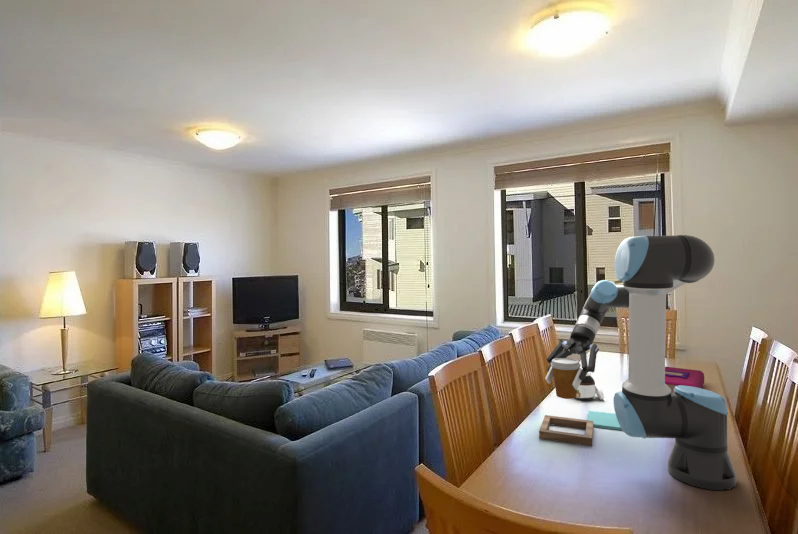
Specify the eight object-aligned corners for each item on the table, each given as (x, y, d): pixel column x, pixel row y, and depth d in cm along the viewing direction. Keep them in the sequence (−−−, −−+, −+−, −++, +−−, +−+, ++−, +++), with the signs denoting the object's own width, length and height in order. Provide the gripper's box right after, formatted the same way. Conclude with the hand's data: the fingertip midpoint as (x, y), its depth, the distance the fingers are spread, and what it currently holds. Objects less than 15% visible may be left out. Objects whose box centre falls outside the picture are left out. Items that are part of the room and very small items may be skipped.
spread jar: (566, 396, 189) (566, 369, 189) (587, 392, 193) (586, 366, 193) (587, 404, 178) (587, 375, 178) (609, 400, 182) (608, 372, 181)
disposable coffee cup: (574, 391, 154) (573, 357, 154) (586, 399, 145) (585, 363, 145) (547, 392, 154) (546, 358, 154) (557, 401, 144) (557, 364, 144)
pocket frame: (592, 446, 139) (592, 438, 139) (539, 438, 145) (539, 430, 145) (593, 428, 153) (593, 420, 153) (545, 421, 160) (545, 415, 160)
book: (704, 386, 200) (704, 369, 200) (697, 402, 178) (697, 383, 178) (651, 379, 213) (651, 363, 213) (639, 393, 192) (639, 376, 192)
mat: (632, 431, 149) (632, 428, 149) (587, 426, 155) (587, 423, 155) (630, 418, 162) (630, 415, 162) (588, 413, 168) (588, 410, 168)
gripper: (619, 341, 150) (596, 397, 140) (561, 334, 167) (537, 384, 158) (611, 327, 147) (587, 384, 137) (552, 321, 164) (527, 371, 154)
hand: (560, 384), depth 147 cm, fingers closed on disposable coffee cup, 9 cm apart
